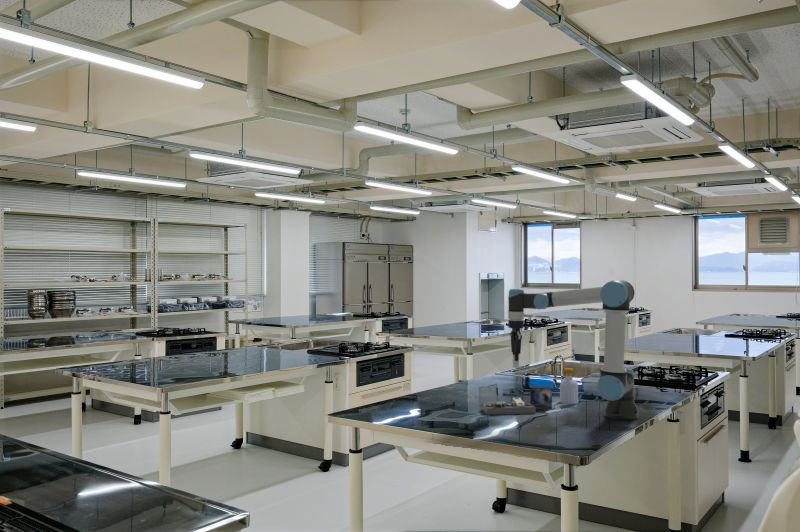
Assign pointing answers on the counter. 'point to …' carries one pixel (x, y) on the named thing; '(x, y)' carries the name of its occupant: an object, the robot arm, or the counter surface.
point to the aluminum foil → (596, 375)
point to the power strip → (510, 408)
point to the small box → (541, 396)
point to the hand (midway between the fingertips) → (515, 367)
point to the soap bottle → (568, 387)
